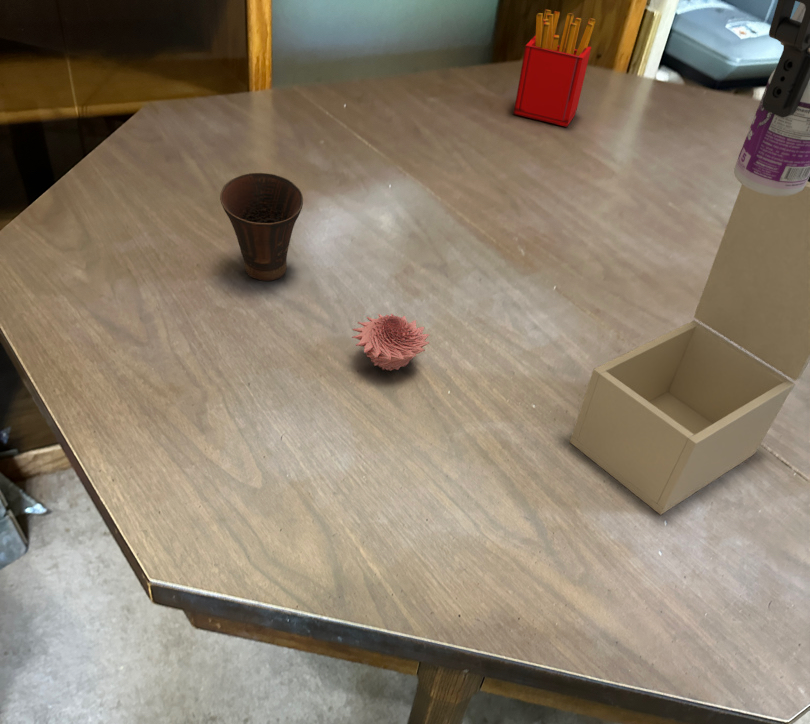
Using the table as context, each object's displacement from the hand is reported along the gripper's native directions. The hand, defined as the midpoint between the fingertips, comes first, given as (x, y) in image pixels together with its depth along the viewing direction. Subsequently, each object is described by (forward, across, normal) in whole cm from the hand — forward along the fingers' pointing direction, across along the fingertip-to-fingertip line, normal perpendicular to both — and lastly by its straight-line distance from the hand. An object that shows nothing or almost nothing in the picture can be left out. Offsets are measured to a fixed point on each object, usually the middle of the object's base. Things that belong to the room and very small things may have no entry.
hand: (801, 104), depth 54 cm
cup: (+31, -19, +44) cm, 57 cm away
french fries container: (+31, +46, +64) cm, 84 cm away
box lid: (+14, +5, -2) cm, 15 cm away
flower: (+31, -16, +23) cm, 42 cm away
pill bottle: (+6, 0, 0) cm, 6 cm away
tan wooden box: (+31, -1, -2) cm, 31 cm away
